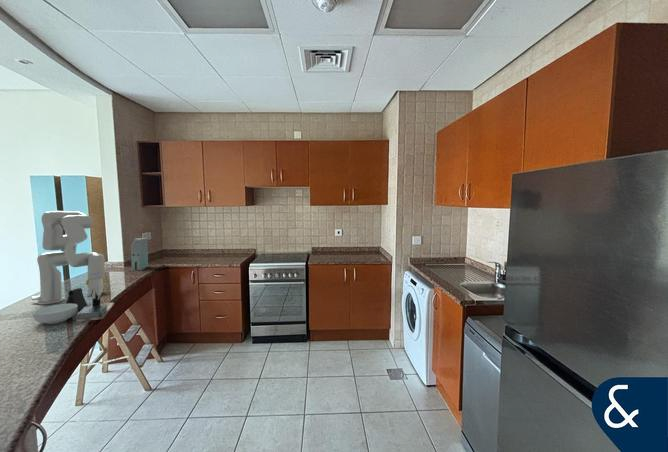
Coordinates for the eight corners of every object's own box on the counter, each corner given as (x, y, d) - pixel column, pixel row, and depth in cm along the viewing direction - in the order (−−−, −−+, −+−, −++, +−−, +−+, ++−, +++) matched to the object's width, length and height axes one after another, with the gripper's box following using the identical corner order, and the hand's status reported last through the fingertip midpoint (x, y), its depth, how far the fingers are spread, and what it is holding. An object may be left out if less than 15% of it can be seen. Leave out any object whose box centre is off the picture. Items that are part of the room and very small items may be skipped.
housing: (77, 319, 149) (77, 313, 149) (84, 312, 160) (84, 306, 159) (101, 316, 153) (101, 311, 153) (106, 309, 164) (106, 304, 164)
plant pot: (101, 289, 207) (101, 276, 207) (108, 292, 202) (107, 278, 201) (83, 292, 198) (83, 279, 198) (89, 295, 193) (89, 281, 193)
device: (139, 266, 287) (139, 237, 286) (148, 266, 289) (147, 237, 287) (131, 270, 271) (131, 239, 269) (140, 270, 273) (140, 239, 271)
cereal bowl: (74, 313, 162) (74, 301, 161) (80, 321, 151) (80, 308, 151) (31, 321, 148) (31, 308, 148) (34, 330, 138) (34, 316, 138)
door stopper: (63, 310, 164) (62, 290, 164) (72, 307, 170) (71, 287, 170) (79, 311, 165) (79, 290, 164) (87, 307, 171) (87, 288, 170)
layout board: (76, 321, 150) (76, 319, 149) (91, 306, 173) (91, 304, 173) (102, 318, 155) (102, 316, 154) (114, 304, 178) (114, 302, 178)
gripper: (92, 273, 167) (92, 303, 168) (83, 279, 154) (83, 311, 155) (107, 272, 171) (107, 301, 172) (100, 278, 158) (100, 310, 159)
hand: (96, 306), depth 164 cm, fingers closed
